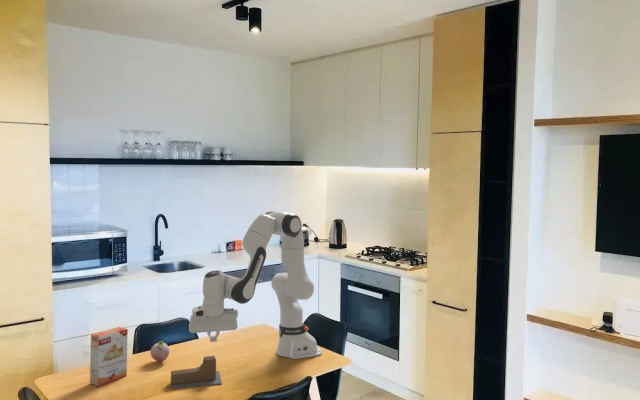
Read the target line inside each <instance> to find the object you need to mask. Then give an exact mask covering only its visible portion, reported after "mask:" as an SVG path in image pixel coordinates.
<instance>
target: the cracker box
mask: <svg viewBox="0 0 640 400" xmlns="http://www.w3.org/2000/svg"><path fill="white" fill-rule="evenodd" d="M128 331H129V330H128V328H125V327H121V326H118V327H114V328H111V329H106V330H102V331H98V332H95V333H92V334H90V353H89V354H90V359H89V360H90V361H89V363H90V365H89V367H90V368H89V384H91V385H93V386H96V387H101V386H104V385H106V384H109V383H111V382H114V381H117V380H120V379H122V378H125V377H127V373H128V372H127V369H128V333H129V332H128Z"/></svg>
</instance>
